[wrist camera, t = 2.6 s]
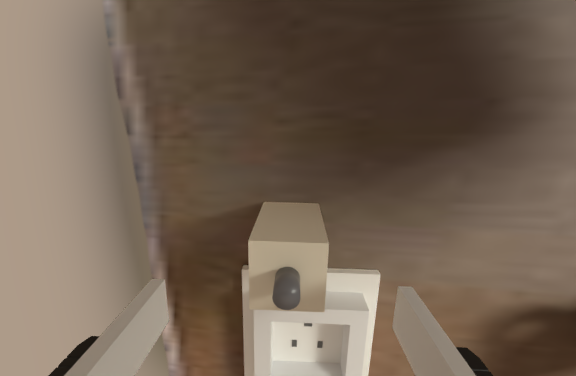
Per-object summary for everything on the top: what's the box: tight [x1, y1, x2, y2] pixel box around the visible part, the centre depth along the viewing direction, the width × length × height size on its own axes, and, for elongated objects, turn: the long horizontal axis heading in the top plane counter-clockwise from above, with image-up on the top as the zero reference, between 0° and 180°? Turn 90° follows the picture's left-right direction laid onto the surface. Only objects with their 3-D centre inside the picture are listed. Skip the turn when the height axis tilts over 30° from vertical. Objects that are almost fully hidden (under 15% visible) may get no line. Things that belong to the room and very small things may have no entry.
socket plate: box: [242, 265, 380, 376], centre depth 27 cm, size 20×13×3 cm, turn 179°
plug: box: [248, 202, 329, 312], centre depth 20 cm, size 5×5×10 cm
